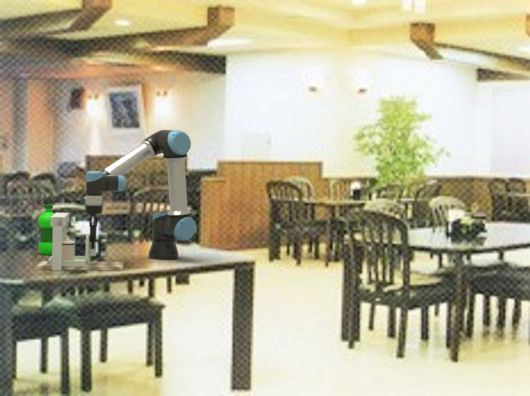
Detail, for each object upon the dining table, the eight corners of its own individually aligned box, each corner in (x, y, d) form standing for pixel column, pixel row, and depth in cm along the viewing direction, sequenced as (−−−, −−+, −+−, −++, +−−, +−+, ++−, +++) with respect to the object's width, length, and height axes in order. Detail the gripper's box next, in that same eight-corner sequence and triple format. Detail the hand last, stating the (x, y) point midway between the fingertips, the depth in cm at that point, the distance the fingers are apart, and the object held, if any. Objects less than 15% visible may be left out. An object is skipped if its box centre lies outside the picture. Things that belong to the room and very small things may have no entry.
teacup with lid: (79, 261, 434) (79, 236, 433) (64, 263, 426) (65, 238, 426) (60, 259, 440) (61, 234, 440) (46, 260, 433) (46, 235, 432)
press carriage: (90, 261, 443) (90, 232, 442) (87, 266, 426) (88, 236, 425) (51, 260, 441) (51, 232, 440) (47, 265, 424) (47, 236, 423)
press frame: (68, 263, 446) (69, 212, 444) (63, 270, 422) (64, 217, 420) (55, 263, 445) (56, 212, 443) (49, 270, 421) (50, 217, 419)
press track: (123, 265, 445) (123, 262, 445) (122, 270, 428) (122, 267, 428) (41, 264, 441) (41, 260, 441) (37, 269, 424) (37, 266, 424)
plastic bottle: (61, 255, 475) (62, 205, 473) (41, 255, 469) (42, 205, 467) (54, 252, 483) (54, 203, 481) (34, 253, 477) (34, 204, 475)
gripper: (86, 203, 439) (85, 253, 441) (84, 205, 426) (83, 257, 428) (102, 203, 440) (101, 253, 442) (101, 205, 427) (100, 257, 429)
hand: (92, 255), depth 435 cm, fingers closed
